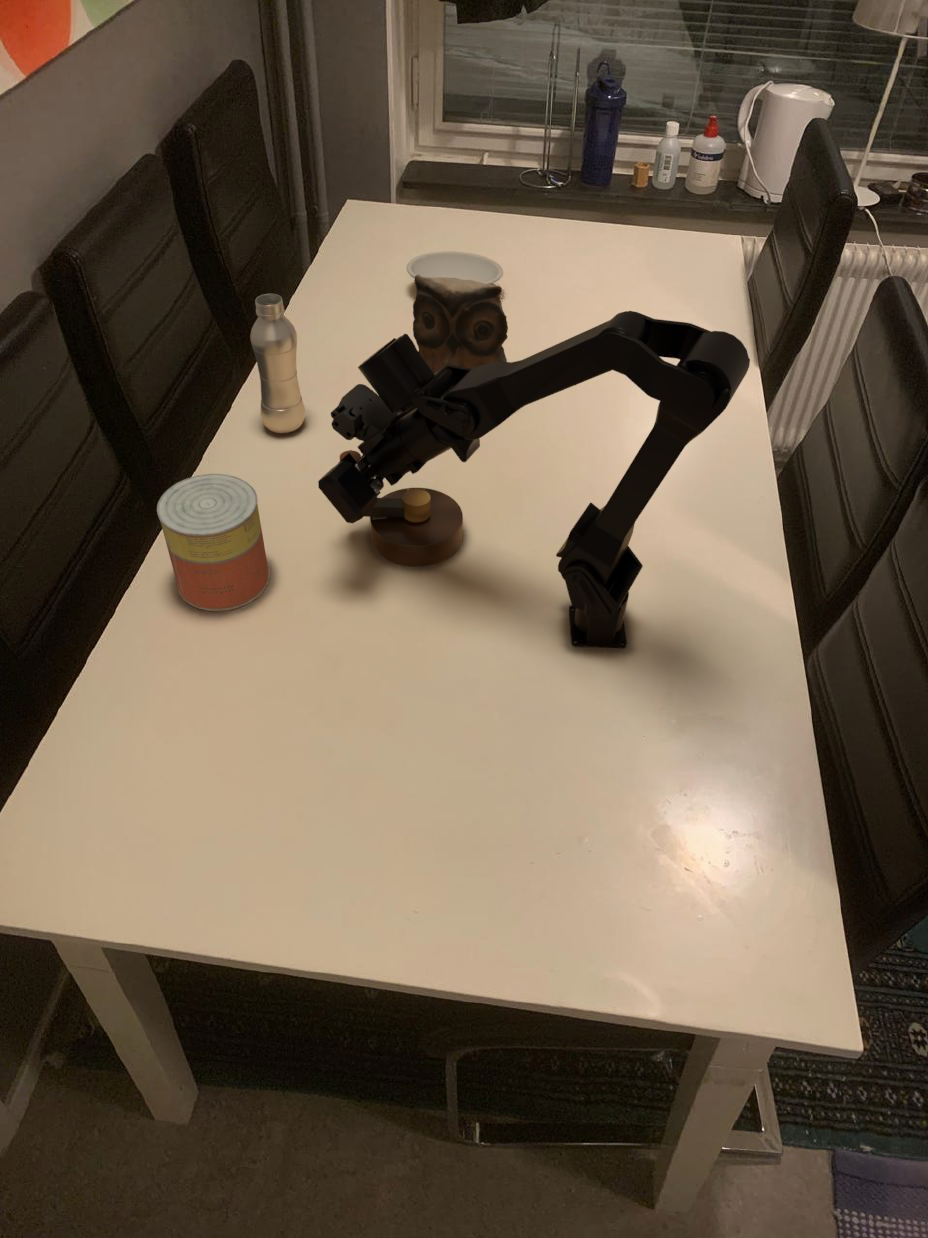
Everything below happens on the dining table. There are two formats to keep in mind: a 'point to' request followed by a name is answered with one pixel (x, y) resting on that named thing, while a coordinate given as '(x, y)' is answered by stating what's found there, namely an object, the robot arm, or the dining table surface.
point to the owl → (458, 322)
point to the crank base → (419, 532)
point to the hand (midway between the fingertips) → (342, 482)
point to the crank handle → (400, 502)
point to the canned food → (214, 541)
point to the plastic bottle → (277, 365)
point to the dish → (455, 267)
